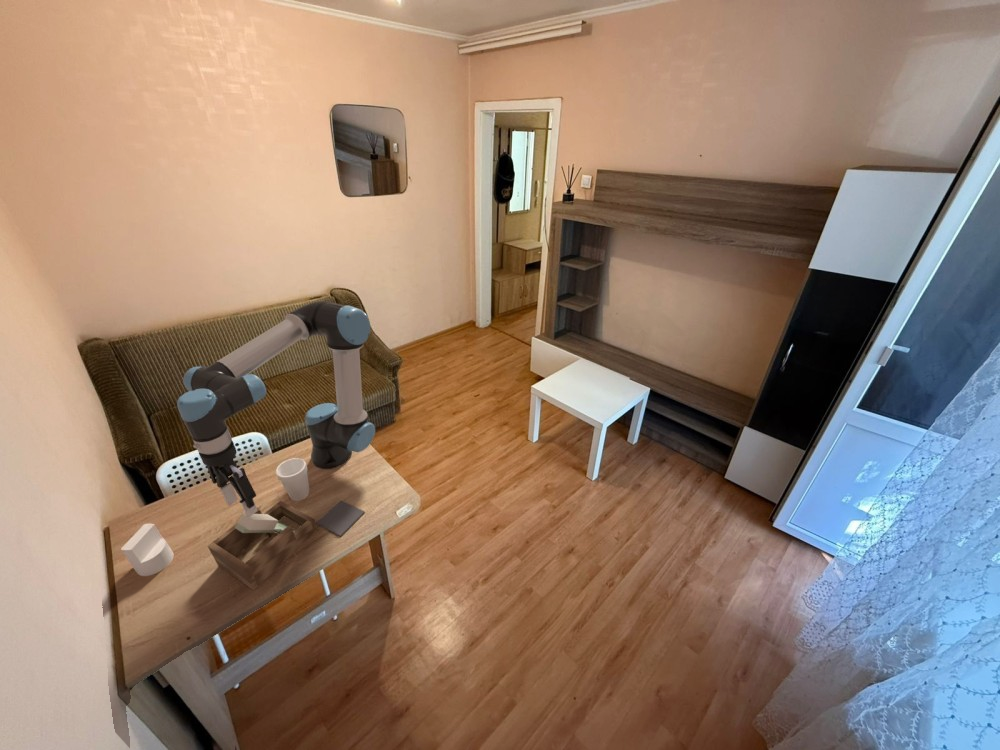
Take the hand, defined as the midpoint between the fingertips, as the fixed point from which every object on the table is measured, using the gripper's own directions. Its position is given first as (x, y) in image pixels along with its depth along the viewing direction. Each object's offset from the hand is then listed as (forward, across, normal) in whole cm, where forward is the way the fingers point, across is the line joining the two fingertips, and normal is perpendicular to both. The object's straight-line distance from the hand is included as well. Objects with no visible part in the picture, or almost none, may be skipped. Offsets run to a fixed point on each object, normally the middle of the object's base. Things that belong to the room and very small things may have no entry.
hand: (242, 507), depth 115 cm
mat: (+21, +11, +21) cm, 32 cm away
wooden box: (+21, 0, +3) cm, 21 cm away
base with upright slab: (+21, -26, -17) cm, 37 cm away
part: (+9, 0, +1) cm, 9 cm away
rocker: (+13, 0, +3) cm, 14 cm away
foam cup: (+21, -10, +22) cm, 32 cm away
